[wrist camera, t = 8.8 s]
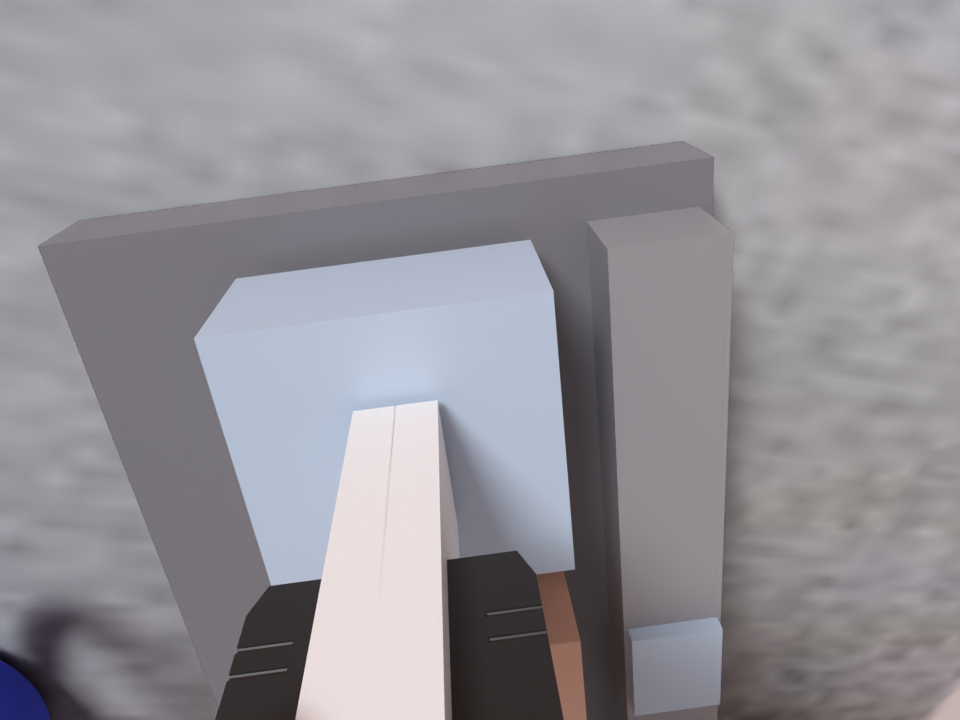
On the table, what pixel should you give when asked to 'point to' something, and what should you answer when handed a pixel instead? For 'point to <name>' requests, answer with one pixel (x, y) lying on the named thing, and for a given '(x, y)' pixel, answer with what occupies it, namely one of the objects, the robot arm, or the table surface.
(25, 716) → the mug
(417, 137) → the table surface
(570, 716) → the terracotta key
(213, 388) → the blue key
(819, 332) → the table surface
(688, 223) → the keypad
